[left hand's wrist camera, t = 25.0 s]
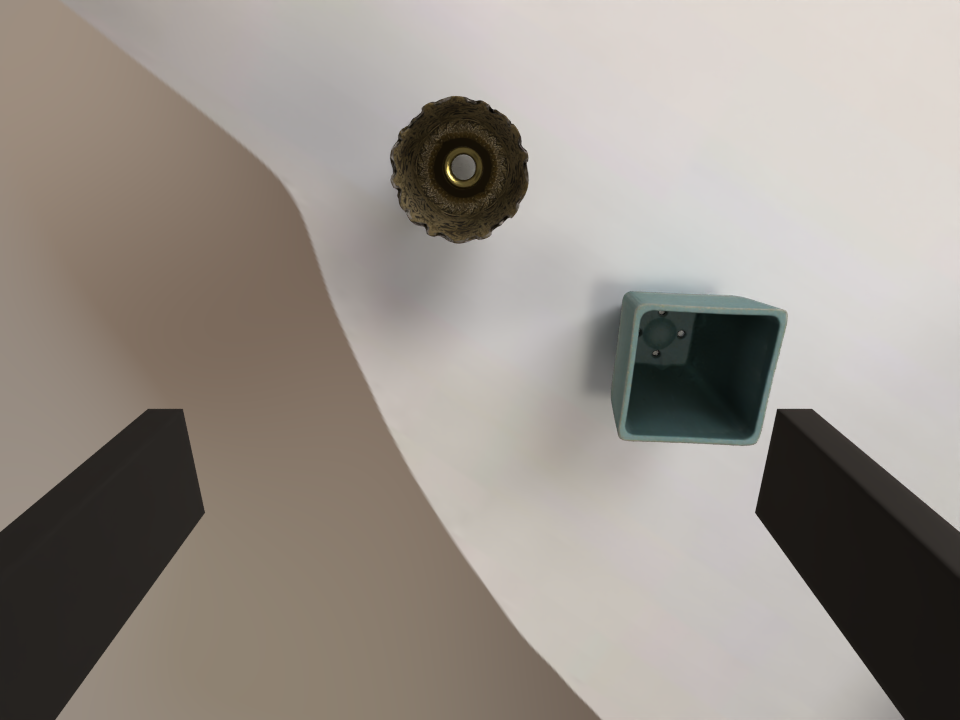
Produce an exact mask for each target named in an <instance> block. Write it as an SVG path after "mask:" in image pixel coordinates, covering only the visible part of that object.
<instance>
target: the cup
mask: <svg viewBox="0 0 960 720" xmlns="http://www.w3.org/2000/svg"><path fill="white" fill-rule="evenodd" d="M461 154H466V155H469V156H470V157H472V158H473V160H474V161H475V164H476V171H475V173H474V175H473V176H472V177H471V178H470V179H468V180H460V179H458V178H456V177H455V176H454V174H453V173H452V169H451V165H452V162H453V160H454V158H455V157H457V156H458V155H461ZM390 160H391V164H392V167H393V175H392V176H391V183H392V185H393V188H396V189H397V190H398V194H397V196H398V199H399V204H400V206H401V208H402V209H403V210H405V212H407V216H408V218H409V219H410V221H411V222H412V223H414V224H416V225H418V226H424V227H425V229H426V232H427V234H428V235H430V236H433V237H434V236H441V237H443V238H445V239H446V240H448V241H450V242H453V243H465V242H469V241H471V240H474V239H478V240H480V239H485V238H488V237H489V236H490V235H491V232H492V231H493V230H494V229H495V228H497V227H498V226H501V225H502V223H503V222H504V221H505V220H506V219H507V218H512V217H513V216H514V215H515V214H516V212H517V211H518V208H519V204H520V202H521V201H522V199H523V198H524V196H525V194H526V191H527V188H528V181H529V179H528V170H527V162H528V153H527V151H526V150H525V149H524V148H523V147H522V145H521V136H520V133H519V131H518V129H517V128H516V127H515V125H514V124H511V121H510V120H509V119H508V118H507V117H506V116H505V115H504V114H502V113H500V112H499V111H497V110H493V109H492V108H491V107H490V105H489V104H487V103H485V102H484V101H480V100H479V101H474V100H470V99H468V98H466V97H461V96H451V97H447V98H444V99H441V100H439V101H437V102H430V103H428V104H426V105H425V106H423V107H422V112H421V113H420V114H419V115H418V116H417V117H415V118H413V119H412V121H411V123H410V124H409V125H408V126H407V127H405V128H403V129H402V130H401V131H400V133H399V135H398V141H397V142H396V143H395V145H394V146H393V148H392V150H391V154H390Z"/></svg>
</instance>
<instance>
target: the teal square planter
mask: <svg viewBox="0 0 960 720" xmlns="http://www.w3.org/2000/svg"><path fill="white" fill-rule="evenodd" d="M659 311H666V313H665V314H664V315H660V314H659ZM787 319H788V315H787V312H786V311H785V310H783V309H780V308H776V307H773V306H770V305H767V304H764V303H761V302H757V301H754V300H751V299H748V298H744V297H739V296H732V295H703V294H676V293H656V292H639V291H631V292H628V293H626V294H625V295H624V297H623V301H622V309H621V317H620V326H619V334H618V342H617V349H616V357H615V364H614V371H613V378H612V386H611V402H612V408H613V413H614V418H615V423H616V427H617V432H618V436H619V438H620V439H622V440H625V441H642V442H670V443H694V444H695V443H697V444H720V445H739V446H747V445H754V444H756V443H757V441H758V439H759V437H760V434H761V431H762V426H763V421H764V417H765V412H766V408H767V403H768V398H769V393H770V390H771V385H772V381H773V377H774V372H775V369H776V365H777V361H778V357H779V354H780V349H781V345H782V341H783V337H784V333H785V329H786V325H787ZM639 329H640V331H641V332H640V334H639ZM680 330H683V331H684V332H685V334H684V336H682V337H679V336H678V332H679V331H680ZM656 350H658V351H659V355H658V356H654V355H653V352H654V351H656Z"/></svg>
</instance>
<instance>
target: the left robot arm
mask: <svg viewBox="0 0 960 720" xmlns="http://www.w3.org/2000/svg"><path fill="white" fill-rule="evenodd" d="M204 513H205V511H204V506H203V502H202V497H201V492H200V488H199V483H198V478H197V474H196V469H195V464H194V459H193V455H192V450H191V445H190V441H189V436H188V431H187V427H186V422H185V418H184V413H183V409H147V410H146V411H145V412H144V413H143V414H141V415H140V416H139V417H138V418H137V419H135V420H134V421H133V422H132V423H131V424H129V425H128V426H127V427H126V428H125V429H123V430H122V431H121V432H120V433H119V434H117V435H116V436H115V437H114V438H113V439H111V440H110V441H109V442H108V443H107V444H105V445H104V446H103V447H102V448H101V449H99V450H98V451H97V452H96V453H95V454H94V455H92V456H91V457H90V458H89V459H87V460H86V461H85V462H84V463H83V464H81V465H80V466H79V467H78V468H77V469H75V470H74V471H73V472H72V473H71V474H69V475H68V476H67V477H66V478H65V479H63V480H62V481H61V482H60V483H59V484H57V485H56V486H55V487H54V488H53V489H51V490H50V491H49V492H48V493H47V494H45V495H44V496H43V497H42V498H41V499H39V500H38V501H37V502H36V503H35V504H33V505H32V506H31V507H30V508H29V509H27V510H26V511H25V512H24V513H23V514H21V515H20V516H19V517H18V518H17V519H15V520H14V521H13V522H12V523H11V524H9V525H8V526H7V527H6V528H5V529H3V530H2V531H1V532H0V720H55V719H56V718H57V717H58V715H59V714H60V712H61V711H62V710H63V708H64V707H65V705H66V704H67V703H68V701H69V700H70V699H71V697H72V696H73V694H74V693H75V692H76V690H77V689H78V687H79V686H80V685H81V683H82V682H83V681H84V679H85V678H86V676H87V675H88V674H89V672H90V671H91V669H92V668H93V667H94V665H95V664H96V663H97V661H98V660H99V658H100V657H101V656H102V654H103V653H104V652H105V650H106V649H107V647H108V646H109V645H110V643H111V642H112V640H113V639H114V638H115V636H116V635H117V634H118V632H119V631H120V629H121V628H122V627H123V625H124V624H125V622H126V621H127V620H128V618H129V617H130V616H131V614H132V613H133V611H134V610H135V609H136V607H137V606H138V604H139V603H140V602H141V600H142V599H143V598H144V596H145V595H146V593H147V592H148V591H149V589H150V588H151V587H152V585H153V584H154V582H155V581H156V580H157V578H158V577H159V575H160V574H161V573H162V571H163V570H164V568H165V567H166V566H167V564H168V563H169V562H170V560H171V559H172V557H173V556H174V555H175V553H176V552H177V550H178V549H179V548H180V546H181V545H182V544H183V542H184V541H185V539H186V538H187V537H188V535H189V534H190V533H191V531H192V530H193V528H194V527H195V526H196V524H197V523H198V521H199V520H200V519H201V517H202V516H203V515H204ZM755 513H756V515H757V516H758V517H759V519H760V520H761V522H762V523H763V524H764V526H765V527H766V528H767V530H768V531H769V533H770V534H771V535H772V537H773V538H774V540H775V541H776V542H777V544H778V545H779V546H780V548H781V549H782V551H783V552H784V553H785V555H786V556H787V557H788V559H789V560H790V562H791V563H792V564H793V566H794V567H795V569H796V570H797V571H798V573H799V574H800V575H801V577H802V578H803V580H804V581H805V582H806V584H807V585H808V587H809V588H810V589H811V591H812V592H813V593H814V595H815V596H816V598H817V599H818V600H819V602H820V603H821V605H822V606H823V607H824V609H825V610H826V611H827V613H828V614H829V616H830V617H831V618H832V620H833V621H834V622H835V624H836V625H837V627H838V628H839V629H840V631H841V632H842V634H843V635H844V636H845V638H846V639H847V640H848V642H849V643H850V645H851V646H852V647H853V649H854V650H855V652H856V653H857V654H858V656H859V657H860V658H861V660H862V661H863V663H864V664H865V665H866V667H867V668H868V670H869V671H870V672H871V674H872V675H873V676H874V678H875V679H876V681H877V682H878V683H879V685H880V686H881V687H882V689H883V690H884V692H885V693H886V694H887V696H888V697H889V699H890V700H891V701H892V703H893V704H894V705H895V707H896V708H897V710H898V711H899V712H900V714H901V715H902V717H903V718H904V719H905V720H960V532H959V531H958V530H957V529H955V528H954V527H953V526H952V525H951V524H949V523H948V522H947V521H946V520H945V519H943V518H942V517H941V516H940V515H939V514H937V513H936V512H935V511H934V510H933V509H931V508H930V507H929V506H928V505H927V504H925V503H924V502H923V501H922V500H921V499H919V498H918V497H917V496H916V495H915V494H913V493H912V492H911V491H910V490H909V489H907V488H906V487H905V486H904V485H903V484H901V483H900V482H899V481H898V480H897V479H895V478H894V477H893V476H892V475H891V474H889V473H888V472H887V471H886V470H885V469H883V468H882V467H881V466H880V465H879V464H877V463H876V462H875V461H874V460H873V459H871V458H870V457H869V456H868V455H867V454H865V453H864V452H863V451H862V450H861V449H859V448H858V447H857V446H856V445H855V444H853V443H852V442H851V441H850V440H849V439H847V438H846V437H845V436H844V435H843V434H841V433H840V432H839V431H838V430H837V429H835V428H834V427H833V426H832V425H831V424H829V423H828V422H827V421H826V420H825V419H823V418H822V417H821V416H820V415H819V414H817V413H816V412H815V411H814V410H813V409H777V413H776V417H775V422H774V427H773V431H772V436H771V441H770V445H769V450H768V455H767V459H766V464H765V469H764V474H763V478H762V483H761V488H760V492H759V497H758V502H757V506H756V511H755Z"/></svg>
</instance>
